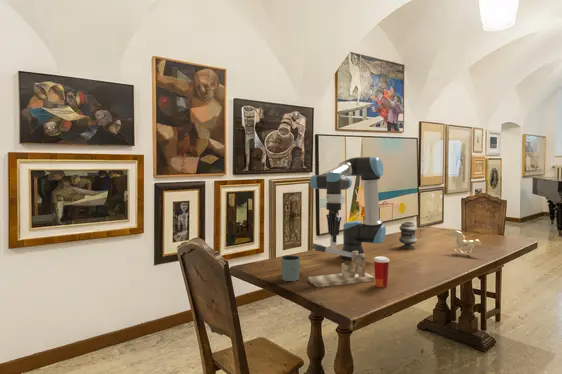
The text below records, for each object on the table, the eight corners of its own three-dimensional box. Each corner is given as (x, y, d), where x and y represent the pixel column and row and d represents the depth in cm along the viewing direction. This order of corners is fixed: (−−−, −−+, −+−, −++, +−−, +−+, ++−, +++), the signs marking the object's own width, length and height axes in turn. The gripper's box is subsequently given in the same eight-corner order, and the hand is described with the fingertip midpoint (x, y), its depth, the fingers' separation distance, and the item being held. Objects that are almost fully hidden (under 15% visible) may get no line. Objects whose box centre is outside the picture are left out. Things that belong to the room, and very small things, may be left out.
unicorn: (482, 256, 255) (483, 230, 254) (480, 258, 253) (480, 231, 251) (451, 252, 269) (451, 227, 268) (448, 253, 267) (449, 227, 266)
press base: (362, 274, 219) (362, 249, 218) (374, 280, 207) (374, 254, 206) (308, 280, 209) (308, 254, 208) (317, 287, 198) (317, 259, 197)
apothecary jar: (399, 249, 281) (399, 223, 280) (399, 245, 292) (399, 221, 291) (417, 249, 277) (417, 224, 276) (416, 246, 289) (416, 221, 288)
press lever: (357, 258, 213) (358, 253, 214) (362, 260, 208) (363, 255, 208) (311, 248, 205) (312, 243, 205) (315, 250, 200) (317, 245, 200)
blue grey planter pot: (289, 275, 218) (289, 254, 218) (304, 279, 212) (304, 256, 211) (277, 280, 211) (277, 257, 210) (292, 283, 204) (292, 260, 203)
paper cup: (386, 283, 203) (386, 255, 203) (391, 287, 196) (391, 259, 195) (371, 283, 203) (371, 256, 202) (375, 288, 196) (375, 260, 195)
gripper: (321, 201, 209) (321, 246, 210) (332, 203, 197) (332, 250, 198) (334, 201, 212) (334, 245, 213) (346, 203, 199) (345, 250, 200)
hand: (333, 247), depth 205 cm, fingers closed
